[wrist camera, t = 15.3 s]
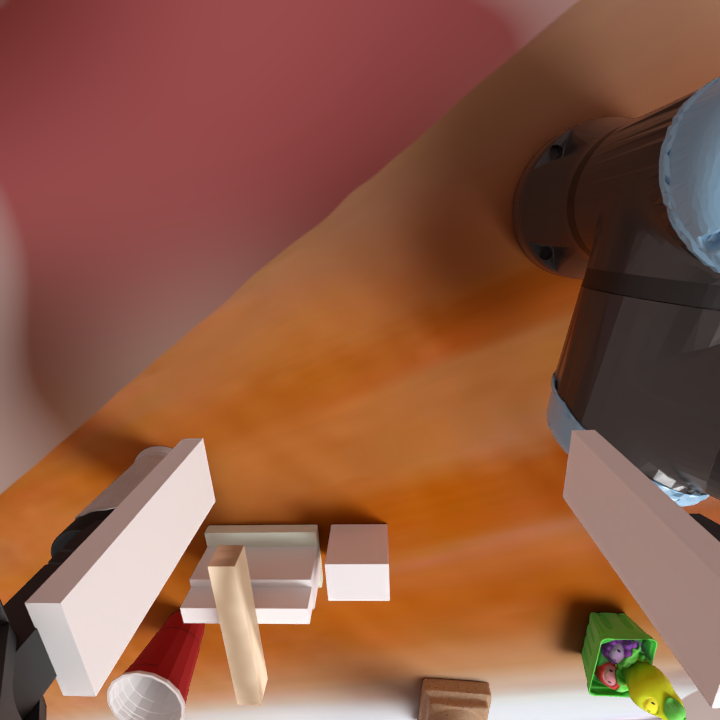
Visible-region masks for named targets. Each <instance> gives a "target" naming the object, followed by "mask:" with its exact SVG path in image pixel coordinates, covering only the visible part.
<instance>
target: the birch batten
mask: <svg viewBox="0 0 720 720" xmlns="http://www.w3.org/2000/svg"><path fill="white" fill-rule="evenodd" d="M208 571H209V575H210V580H211V585H212V589H213V594H214V598H215V603H216V608H217V612H218V617H219V621H220V626H221V631H222V635H223V640H224V644H225V649H226V654H227V658H228V663H229V667H230V672H231V677H232V681H233V686H234V690H235V695H236V700H237V704H242V705H261V703H262V699H263V695H264V691H265V687H266V683H267V679H268V678H267V672H266V666H265V661H264V655H263V649H262V644H261V638H260V632H259V627H258V621H257V615H256V610H255V604H254V598H253V593H252V587H251V582H250V576H249V570H248V565H247V559H246V553H245V548H244V545H218V547H217V549H216V551H215V553H214V555H213V557H212V559H211V561H210V563H209V565H208Z"/></svg>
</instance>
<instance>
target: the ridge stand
mask: <svg viewBox="0 0 720 720" xmlns="http://www.w3.org/2000/svg"><path fill="white" fill-rule="evenodd" d="M204 534H205V539H206V543H207V549H206V550H205V552H204V554H203V556H202V558H201V560H200V561H199V563H198V565H197V567H196V569H195V570H194V572H193V574H192V576H191V578H190V584H191V588H190V590H189V592H188V594H187V596H186V598H185V600H184V602H183V603H182V605H181V607H180V610H181V614H182V618H183V622H184V623H220V621H219V617H218V612H217V608H216V603H215V598H214V594H213V589H212V585H211V580H210V575H209V571H208V565H209V563H210V561H211V559H212V557H213V555H214V553H215V551H216V549H217V547H218V545H244V548H245V553H246V559H247V565H248V570H249V576H250V582H251V587H252V593H253V598H254V604H255V610H256V615H257V621H258V624H310V618H311V613H312V609H314V608H315V602H316V596H317V590H318V587H322V582H323V574H322V564H321V554H320V544H319V534H318V525H209V526H208V528H207V529H206V531H205V533H204Z"/></svg>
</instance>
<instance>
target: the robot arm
mask: <svg viewBox="0 0 720 720" xmlns="http://www.w3.org/2000/svg"><path fill="white" fill-rule="evenodd" d="M513 226H514V231H515V234H516V237H517V240H518V242H519V244H520V246H521V248H522V250H523V251H524V253H525V254H526V255H527V257H528V258H529V259H530V260H531V261H532V262H533V263H535V264H536V265H537V266H538V267H540V268H542V269H543V270H545V271H547V272H550V273H552V274H555V275H559V276H563V277H568V278H574V279H583V283H582V285H581V288H580V292H579V295H578V299H577V302H576V306H575V309H574V313H573V316H572V319H571V323H570V326H569V329H568V333H567V336H566V339H565V343H564V346H563V349H562V353H561V356H560V359H559V363H558V366H557V369H556V371H555V372H554V374H553V376H552V380H551V387H552V392H551V396H550V400H549V405H548V409H547V422H548V426H549V428H550V429H551V431H552V433H553V437H554V438H555V440H556V441H557V443H558V444H559V445H560V446H561V448H562V449H563V450H564V451H565V452H566V453H567V454H568V455H569V456H568V463H567V471H566V478H565V486H564V493H563V498H564V499H565V501H566V502H567V504H568V505H569V507H570V508H571V509H572V511H573V512H574V514H575V515H576V516H577V518H578V519H579V521H580V522H581V524H582V525H583V526H584V528H585V529H586V531H587V532H588V533H589V535H590V536H591V538H592V539H593V541H594V542H595V543H596V545H597V546H598V548H599V549H600V551H601V552H602V553H603V555H604V556H605V558H606V559H607V560H608V562H609V563H610V565H611V566H612V568H613V569H614V570H615V572H616V573H617V575H618V576H619V577H620V579H621V580H622V582H623V583H624V585H625V586H626V587H627V589H628V590H629V592H630V593H631V594H632V596H633V597H634V599H635V600H636V602H637V603H638V604H639V606H640V607H641V609H642V610H643V612H644V613H645V614H646V616H647V617H648V619H649V620H650V621H651V623H652V624H653V626H654V627H655V629H656V630H657V631H658V633H659V634H660V636H661V637H662V638H663V640H664V641H665V643H666V644H667V646H668V647H669V648H670V650H671V651H672V653H673V654H674V655H675V657H676V658H677V660H678V661H679V663H680V664H681V665H682V667H683V668H684V670H685V671H686V673H687V674H688V675H689V677H690V678H691V680H692V681H693V682H694V684H695V685H696V687H697V688H698V690H699V691H700V692H701V694H702V695H703V697H704V698H705V699H706V701H707V702H708V704H709V705H710V706H711V708H720V525H719V524H717V523H715V522H714V521H712V520H710V519H708V518H706V517H705V516H703V515H701V514H688V513H687V512H686V511H685V510H683V509H682V508H681V507H680V506H690V505H694V504H697V503H699V502H700V501H702V500H704V499H706V498H708V497H709V496H712V497H714V498H717V499H719V500H720V77H719V78H716V79H714V80H713V81H711V82H709V83H708V84H706V85H704V86H703V87H702V88H701V89H699V90H697V91H695V92H692V93H690V94H688V95H686V96H684V97H682V98H680V99H677V100H675V101H673V102H671V103H669V104H667V105H665V106H662V107H660V108H658V109H656V110H654V111H652V112H650V113H648V114H645V115H643V116H641V117H639V118H637V119H632V118H625V117H602V118H597V119H592V120H589V121H585V122H583V123H580V124H578V125H575V126H574V127H572V128H570V129H568V130H566V131H564V132H562V133H561V134H559V135H557V136H556V137H554V138H553V139H552V140H550V141H549V142H548V143H547V144H545V145H544V146H543V147H542V148H541V149H540V150H539V151H538V152H537V153H536V154H535V156H534V157H533V158H532V159H531V161H530V162H529V164H528V165H527V167H526V168H525V170H524V172H523V174H522V176H521V178H520V180H519V183H518V185H517V189H516V192H515V196H514V201H513ZM214 503H215V497H214V492H213V487H212V481H211V476H210V471H209V466H208V461H207V456H206V451H205V446H204V441H203V438H198V439H182V440H181V441H180V442H179V443H178V444H177V445H176V446H175V447H174V448H173V449H172V451H171V452H170V453H169V454H168V455H167V456H166V457H165V458H164V459H163V460H162V461H161V462H160V463H159V464H158V465H157V466H156V467H155V468H154V469H153V470H152V471H151V472H150V473H149V474H148V475H147V476H146V478H145V479H144V480H143V481H142V482H141V483H140V484H139V485H138V486H137V487H136V488H135V489H134V490H133V491H132V492H131V493H130V494H129V495H128V496H127V497H126V498H125V499H124V500H123V501H122V502H121V503H120V505H119V506H118V507H117V508H116V509H115V510H114V511H113V512H112V513H111V514H110V515H109V516H108V517H107V518H106V519H105V520H97V521H95V522H94V523H92V524H91V525H89V526H88V527H86V528H85V529H83V530H82V531H80V532H78V533H77V534H76V535H75V536H74V537H73V538H72V539H71V540H70V541H69V542H68V543H67V544H66V545H65V546H64V547H63V548H62V550H61V552H58V553H57V554H56V555H55V556H54V557H53V558H52V559H51V560H50V561H49V563H48V565H45V566H44V567H43V568H42V569H40V570H39V571H38V572H37V573H36V574H35V575H34V576H33V577H32V578H31V579H30V580H29V581H28V582H27V583H26V584H25V585H24V586H23V587H22V588H21V589H20V590H19V591H18V592H17V593H16V594H15V595H14V596H13V597H12V598H11V599H10V600H9V601H8V602H7V603H6V604H5V605H4V606H3V605H2V602H1V600H0V720H46V708H47V706H46V703H45V700H44V697H43V694H44V693H45V691H46V690H47V689H48V687H49V686H50V685H51V683H52V682H53V680H54V679H55V678H56V679H57V682H58V684H59V686H60V689H61V691H62V693H63V696H96V695H97V694H98V692H99V690H100V689H101V687H102V686H103V684H104V682H105V681H106V679H107V677H108V676H109V674H110V673H111V671H112V669H113V668H114V666H115V664H116V663H117V661H118V660H119V658H120V656H121V655H122V653H123V651H124V650H125V648H126V646H127V645H128V643H129V642H130V640H131V638H132V637H133V635H134V633H135V632H136V630H137V629H138V627H139V625H140V624H141V622H142V620H143V619H144V617H145V615H146V614H147V612H148V611H149V609H150V607H151V606H152V604H153V602H154V601H155V599H156V598H157V596H158V594H159V593H160V591H161V589H162V588H163V586H164V584H165V583H166V581H167V580H168V578H169V576H170V575H171V573H172V571H173V570H174V568H175V567H176V565H177V563H178V562H179V560H180V558H181V557H182V555H183V553H184V552H185V550H186V549H187V547H188V545H189V544H190V542H191V540H192V539H193V537H194V536H195V534H196V532H197V531H198V529H199V527H200V526H201V524H202V523H203V521H204V519H205V518H206V516H207V514H208V513H209V511H210V509H211V508H212V506H213V505H214Z"/></svg>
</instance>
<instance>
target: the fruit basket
mask: <svg viewBox="0 0 720 720" xmlns="http://www.w3.org/2000/svg"><path fill="white" fill-rule="evenodd" d="M586 633H587V635H586V636H585V640H584V647H583V649H582V653H581V655H582V660H583V664H584V669H585V673H586V677H587V687H588V692H589V694H591V695H593V696H614V697H630V698H631V699H632V701H633V702H634V703H635V704H636V705H637V706H639V707H640V708H641V709H643V710H645V711H647V712H648V713H650V714H653V715H655V716H658V717H660V718H661V719H663V720H686V718H685V715H686V712H685V708H684V706H683V703H682V701H681V699H680V698H679V697H678V695H677V694H676V693H675V691H674V690H673V687H672V685H671V683H670V682H669V680H668V679H667V677H666V676H665V675H664V674H663V673H662V672H661V671H660V670H659V669H658V668H656V667H655V666H653V665H652V663H653V659H654V655H655V652H656V648H657V641H655V640H654V639H653V638H652V637H651V636H650V635H648V634H646V633H645V632H644V631H643V630H642V629H641V628H640V627H639V626H638V625H637V624H636V623H634V622H633V621H632V620H631V619H630V618H629V617H628V616H627V615H626V614H625V613H620V614H616V613H595V612H591V613H590V617H589V624H588V626H587V631H586Z"/></svg>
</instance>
